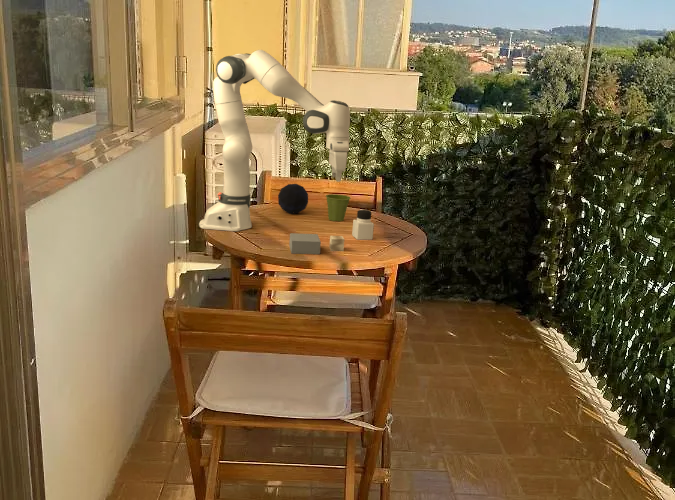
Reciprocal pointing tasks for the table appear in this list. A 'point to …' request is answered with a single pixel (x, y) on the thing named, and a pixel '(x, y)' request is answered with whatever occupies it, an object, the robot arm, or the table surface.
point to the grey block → (304, 243)
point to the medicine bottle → (363, 226)
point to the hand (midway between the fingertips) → (336, 179)
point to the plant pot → (337, 206)
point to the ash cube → (336, 243)
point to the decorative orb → (293, 198)
